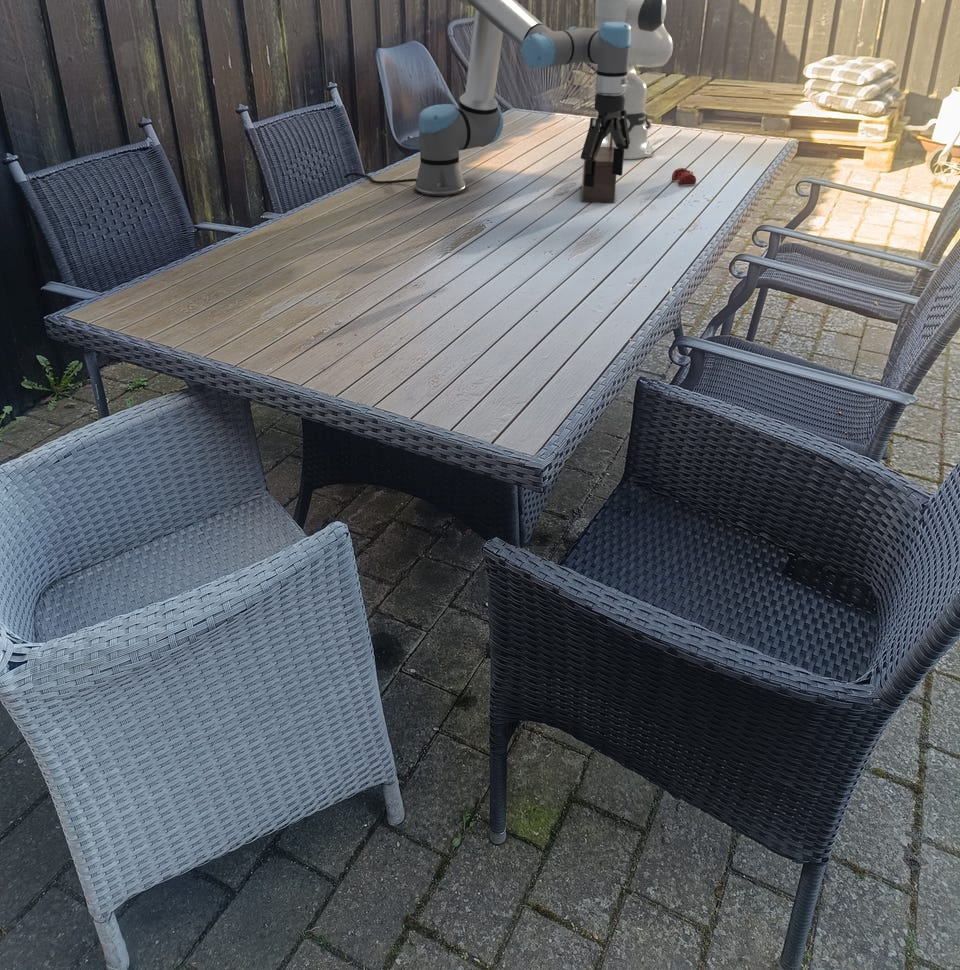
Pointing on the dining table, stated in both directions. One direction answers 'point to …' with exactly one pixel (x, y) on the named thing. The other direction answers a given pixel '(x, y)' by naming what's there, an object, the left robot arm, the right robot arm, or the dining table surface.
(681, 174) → the dark red rounded lump
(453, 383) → the dining table surface
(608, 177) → the chest
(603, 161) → the lid
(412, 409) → the dining table surface
